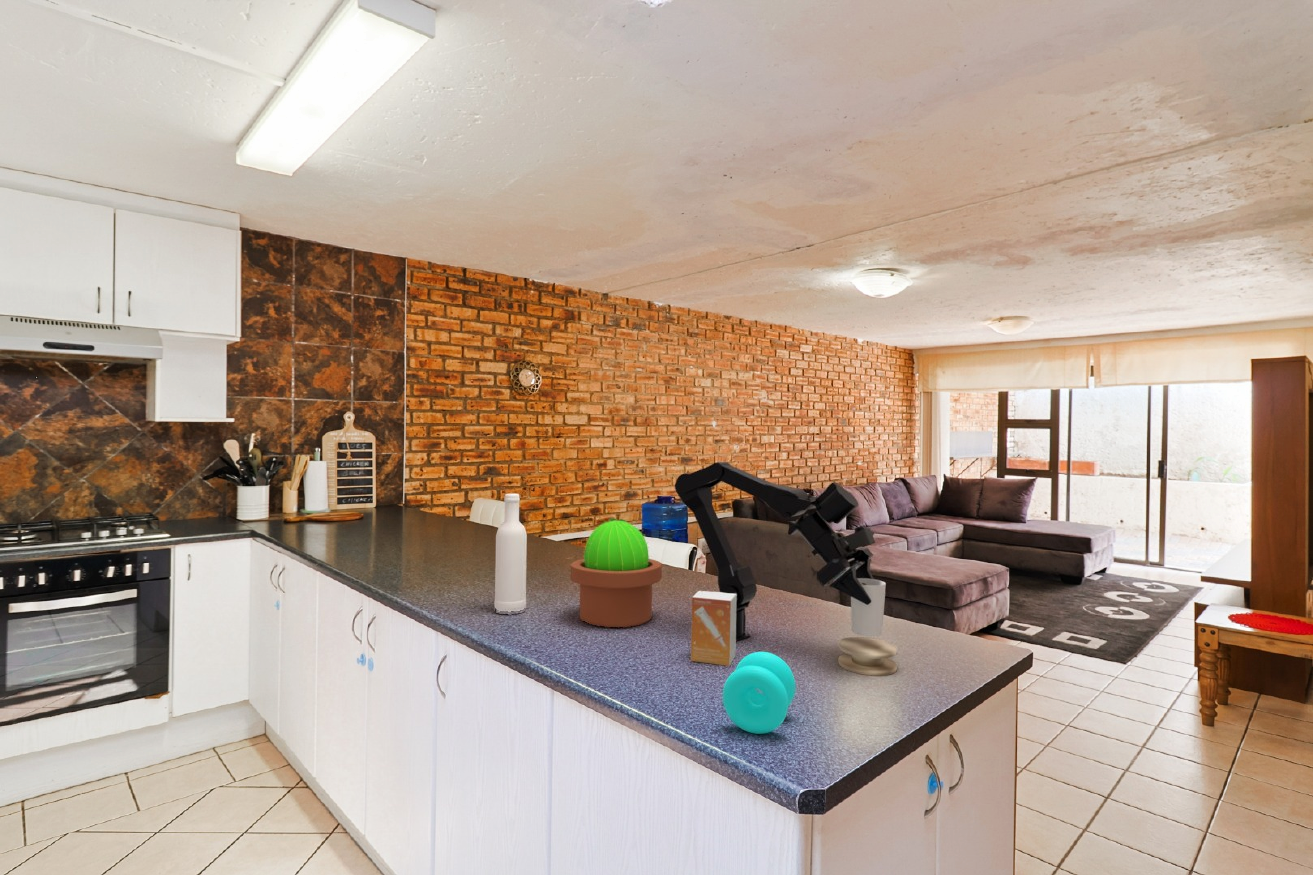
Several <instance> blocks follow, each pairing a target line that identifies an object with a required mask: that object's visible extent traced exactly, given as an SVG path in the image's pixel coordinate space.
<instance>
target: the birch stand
mask: <svg viewBox="0 0 1313 875" xmlns="http://www.w3.org/2000/svg"><path fill="white" fill-rule="evenodd" d="M838 649H839V650H840V651H841V652H844V653H843V654H841V655H839V656H838V665H839V666H840V667H841V668H842V669H844V670H847V671H849V672H851V673H855V674H857V675H858V674H859V675H865V676H876V677H877V676H879V677H880V676H881V677H882V676H888V675H889V676H890V675H893V674H894V673H897V671H898V663H897V662H896V661H894V660H893V659H892V658H894V657H896V656H897V655H898V647H897V646H896V644H893V643H892V642H890V641H887V640H883V639H878V638H875V637H868V636H852V637H851V636H849V637H845V638H842V639H840V640H839V641H838Z"/></svg>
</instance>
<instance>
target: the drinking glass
mask: <svg viewBox="0 0 1313 875" xmlns="http://www.w3.org/2000/svg"><path fill="white" fill-rule="evenodd" d="M857 579H858V581H859V582H860V584H861V585H862V587H863V588H864V590H865V591H866V593H867V594H868V596H869V598H870V599H871V603H870V604H868V605H866V604H864V603H862V602H861V601H859V600H857V599H855V598H853V597H851V596H850V612H851V613H850V615H851V632H852V633H853V634H855V635H859V636H861V637H868V638H875V637H880V636H882V635H883V629H884V628H883V626H884V613H885V601H886V598H885V597H886V587H887V586H886V584H887V583H886V582H885V581H882V580H880V579H875V578H874V579H867V578H857Z"/></svg>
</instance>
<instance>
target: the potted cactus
mask: <svg viewBox="0 0 1313 875" xmlns="http://www.w3.org/2000/svg"><path fill="white" fill-rule="evenodd" d="M627 520H628V519H626V520H625V519H623V518H619V520H618V518H609V519H608V521H605V522H603V523H599V525H598V526H595V527H594V530H593V531H591V532H592V533H591V534H590V535H589V536H588V539H587V538H586V540H587V542H586V545H585V547H584V551H583V550H582V553H584V555H582V558H581V559H578V560H575V561H573V562H572V563H570V580H571V582H574V583H575V584H577V585H578V584H579V618H580V620H581V621H582V622H583V621H585V622H587V623H586V624H588V623H589V624H588V625H591V624H593V626H595V625H599V626H598V627H600V626H606V627H605V628H610V627H618V628H617V629H619V627H623V628H630V627H631V626H632V627H636V626H641V625H643V624H646V623H647V622H649V621H650V620H651V618H652V611H653V605H652V604H653V599H652V598H653V585H655V584H657V583H659V582H660V581H662V578H663V573H662V571H663V570H662V568H663V565H662V562H661V561H658V560H656V559H651V558H650V557H652V555H651V556H650V555H649V547H648V544H649V542H647V540H646V537H645V536H644V534H643V533H642V532H641V531H640V530H639V527H637V526H635V525H634V524H631V523H629V522H628V521H627ZM585 622H584V623H585Z"/></svg>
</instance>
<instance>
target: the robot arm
mask: <svg viewBox="0 0 1313 875" xmlns="http://www.w3.org/2000/svg"><path fill="white" fill-rule="evenodd" d="M721 482H722V483H724V484H727V485H729V486H731V487H732V488H735V489H737V490H740V491H742V492H743V493H747V494H749V495H751V496H752V497H755V498H758V499H759V500H761V501H762V502H764V503H765V504H766V506H768V508H770V509H771V510H773V511H774V512H776V514H779V515H780V516H782V517H785V518H792V517H796V516H800V515H801V516H800V517H798V519H796V520H792V521H788V530H787V535H788V536H792V535H796V534H797V533H799V534H800V535H801V536H802V537H803V539H804V540H805V542H807V543H808V545H810V547H811V548H812V549H813V550H812V551H811V553H812V554H813V556H815V557H816V556H819V558H820V559H821V560H822V561H823V563H824V564H825V565H824V566H823V567H822V568H820V569H819V570H818V571H817V572H816V580H817V581H818V582H819V584H820V585H821V586H822V587H823V588H824V587H826V586H829V587H830V588H833V589H836V590H837V591H839V592H841V593H844V594H845V595H847V596H848V597H849V596H850V598H851V597H853V598H855V599H857V600H859V601H861V602H862V603H864V604H866V605H868V604H870V603H871V599H870V598H869V596H868V594H867V593H866V591H865V590H864V588H863V587H862V585H861V584H860V582H859V581H858V579H857V578H867V579H875V578H874V577H873V574H872V572H871V562H872V558H873V556H874V554H873V552H872V551H871V550H870V549H869V548H868V546H870V545H873V544H876V539H874V536H875V532H874V531H873V530H871V528H870V527H867V526H866V525H864V524H863V525H860V526H857V527H855V528H854V532H853V533H851V534H848V535H844V533H843V532H839V531H837V532H836V531H835V530H834V529H833V528H832V526H831V525H830V524H832V523H833V524H836V525H837V524H840V523H841V522H842V521H843V520H844V519H845V518H847V517H848V515H849V514H851V513H852V512H853V511H854V510H855V509H857V508H858V506H859V502H858V500H857V499H856V497H855V496H854V495H853V493H851V492H849V491H848V490H847V489H845V488H844V487H842V486H840V485H839V484H838V482H835V481H834V482H831V483H830V484H829V485H828V486H827V488H826V489H825V490H824V491H823V492H822V493H821V494H819V495H818V496H813V495H809V494H808V493H807V492H806V491H805V490H804V489H801V488H798V487H792V486H789V485H783V484H777V483H774V482H773V483H772V482H770V481H767V480H765V479H763V478H762V477H759V476H756V475H753V474H752V473H749V472H747V471H745V470H742V469H740V468H739V467H735V466H733V465H732V464H730V463H728V461H727V462H726V461H717V462H713V463H712V464H711V465H709V466H706V467H703V468H701V469H699V470H696V471H693V472H691V473H689V472H688V473H687V472H686V473H681V474H680V475H679V476H678V477H677V478H676V481H675V483H674V489H675V490H674V491H675V493H676V494H677V495H678V497H679V499H680V500H681V502H682V503H683V505H684V506H686V508H687V509H688V510H690V511H691V512H692V514H693V515H694V518H695V521H696V522H697V525H698V528H699V530H700V532H701V534H702V536H703V538H704V540H705V543H706V545H707V548H708V550H709V552H710V554H711V557H712V559H713V561H714V564H715V567H716V569H717V586H718V589H719V592H722V593H733V594H737V601H736V642H737V641H740V640H743V639H747V638H750V637H751V633H746V620H747V618H746V608H748V607H749V606H750V603H751V601H752V600H754V598H755V597H756V594H757V592H758V589H757V585H756V583H758V580H756V578H755V577H754V575H753V572H752V569H751V567H750V565H746V566H743V565H742V564H740V563H739V561H738V559H737V558H736V556H735V553H734V552H733V549H732V547H731V544H730V542H729V540H728V538H727V535H726V533H725V530H724V528H723V527H722V524H721V522H720V520H719V518H718V515H717V514H716V511H715V508H714V506H713V490H712V488H713V487H715V486H717V485H719V484H720V483H721ZM812 509H813V510H812ZM808 510H812V511H811V512H810V513H809V514H808V513H805V512H806V511H808ZM831 581H833V582H832V583H830V582H831Z"/></svg>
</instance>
